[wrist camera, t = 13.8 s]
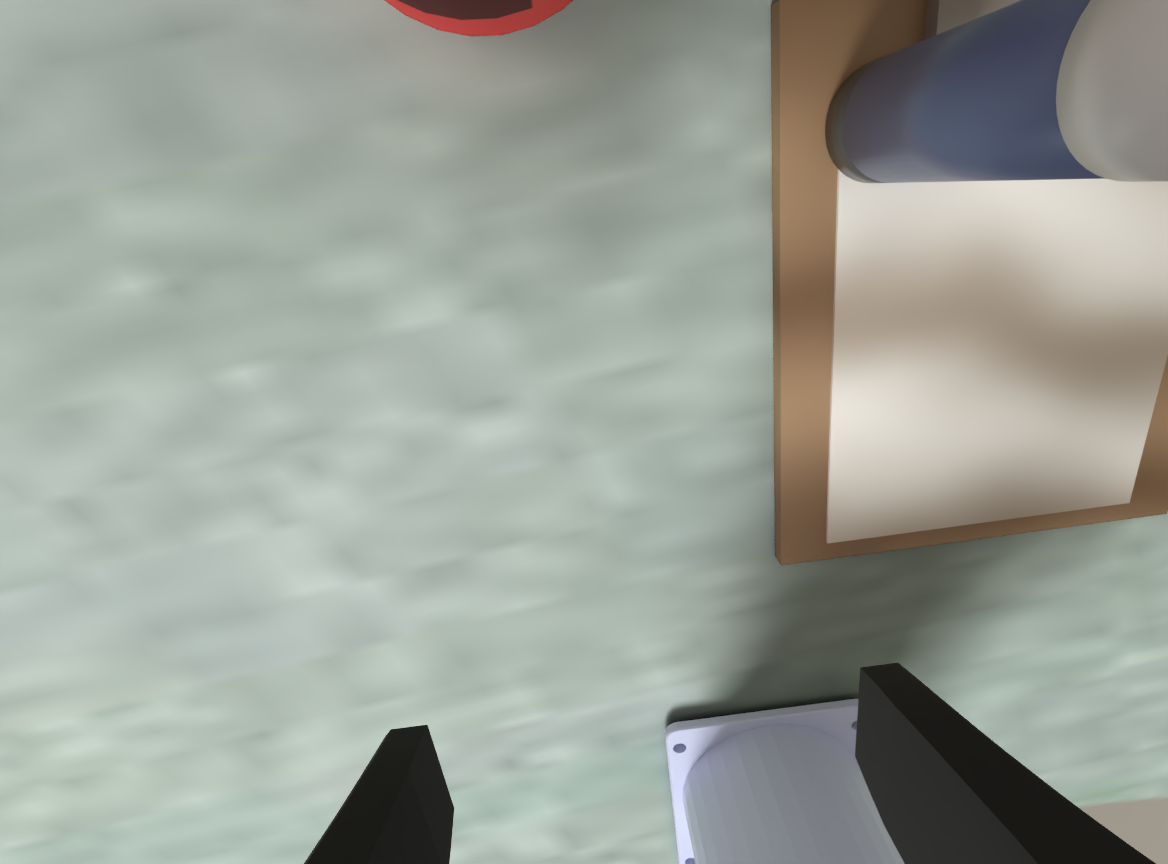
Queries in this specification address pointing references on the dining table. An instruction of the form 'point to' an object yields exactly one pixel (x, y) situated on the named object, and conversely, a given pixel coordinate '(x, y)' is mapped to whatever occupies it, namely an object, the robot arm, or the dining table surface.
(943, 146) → the blue cylindrical bottle
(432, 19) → the canned food
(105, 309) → the dining table surface
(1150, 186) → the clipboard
